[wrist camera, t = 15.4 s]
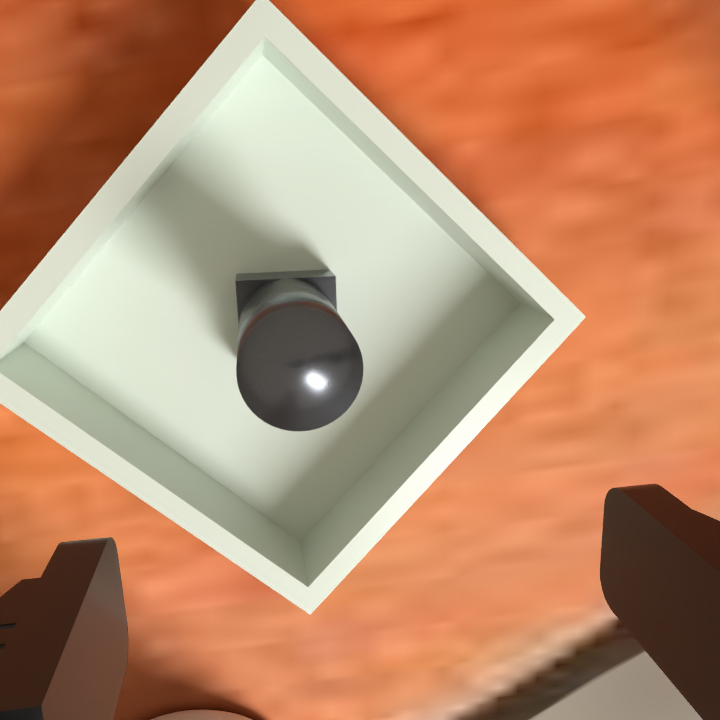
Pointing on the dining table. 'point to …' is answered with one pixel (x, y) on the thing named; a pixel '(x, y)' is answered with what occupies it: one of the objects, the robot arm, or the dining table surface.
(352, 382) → the dark grey stamp
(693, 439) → the dining table surface
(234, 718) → the cylinder vase
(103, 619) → the robot arm
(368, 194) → the sage bin
